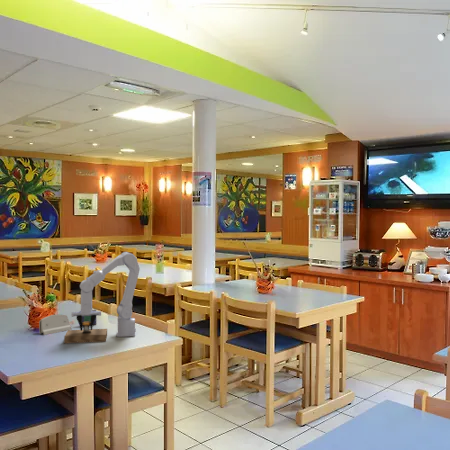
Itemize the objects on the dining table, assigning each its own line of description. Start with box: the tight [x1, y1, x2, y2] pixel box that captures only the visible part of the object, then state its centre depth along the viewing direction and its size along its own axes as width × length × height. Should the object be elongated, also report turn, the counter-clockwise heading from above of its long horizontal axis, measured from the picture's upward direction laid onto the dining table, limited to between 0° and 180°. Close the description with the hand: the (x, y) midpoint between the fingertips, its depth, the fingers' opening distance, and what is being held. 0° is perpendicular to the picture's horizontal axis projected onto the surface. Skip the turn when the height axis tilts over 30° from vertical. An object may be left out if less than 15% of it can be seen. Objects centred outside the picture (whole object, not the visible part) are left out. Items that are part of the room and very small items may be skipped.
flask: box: [82, 309, 97, 327], centre depth 262 cm, size 9×3×11 cm, turn 112°
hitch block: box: [63, 328, 108, 344], centre depth 235 cm, size 20×12×4 cm, turn 101°
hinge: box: [38, 314, 73, 336], centre depth 250 cm, size 17×5×10 cm, turn 138°
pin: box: [82, 322, 91, 334], centre depth 234 cm, size 4×4×6 cm
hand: (86, 329), depth 234 cm, fingers closed on pin, 4 cm apart
